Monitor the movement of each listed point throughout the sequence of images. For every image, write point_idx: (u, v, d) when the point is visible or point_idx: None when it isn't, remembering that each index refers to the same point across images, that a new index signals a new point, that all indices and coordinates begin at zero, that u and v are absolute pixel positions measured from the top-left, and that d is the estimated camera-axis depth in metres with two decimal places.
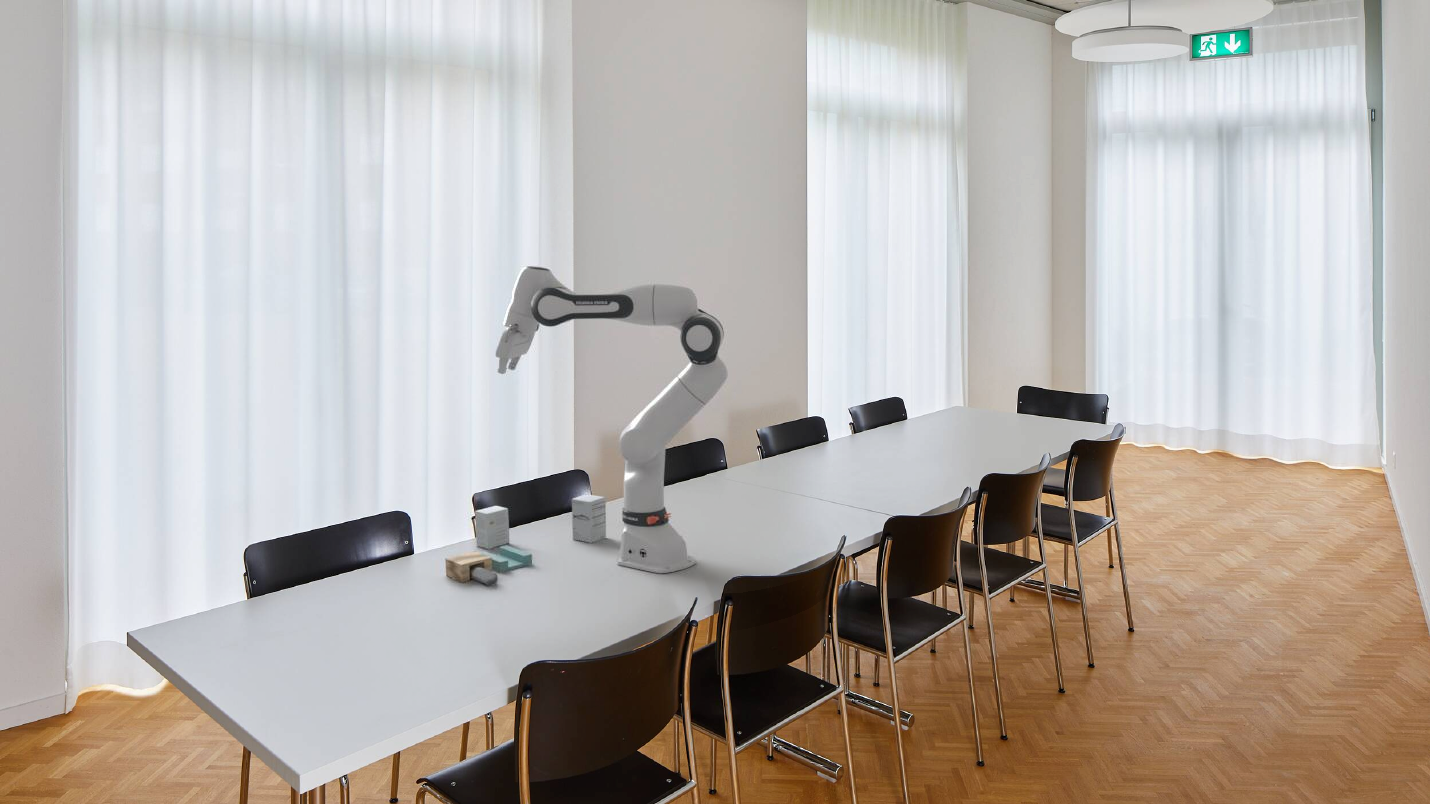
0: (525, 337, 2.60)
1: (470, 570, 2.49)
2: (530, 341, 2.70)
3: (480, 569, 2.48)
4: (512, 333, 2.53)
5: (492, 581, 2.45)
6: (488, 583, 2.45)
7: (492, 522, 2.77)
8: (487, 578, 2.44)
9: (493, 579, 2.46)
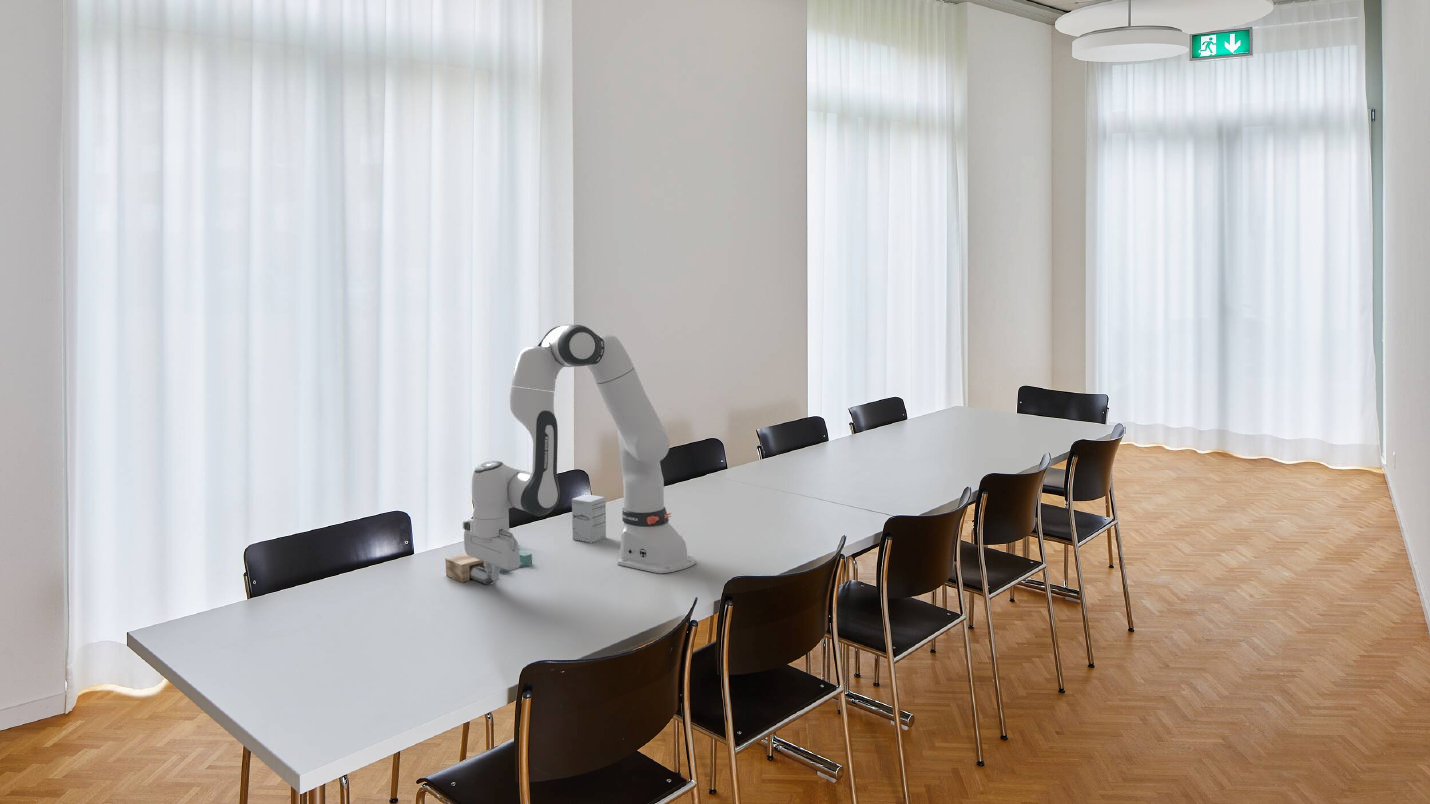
0: None
1: None
2: None
3: (476, 569, 2.48)
4: None
5: (489, 580, 2.46)
6: (486, 582, 2.45)
7: None
8: (484, 578, 2.45)
9: None
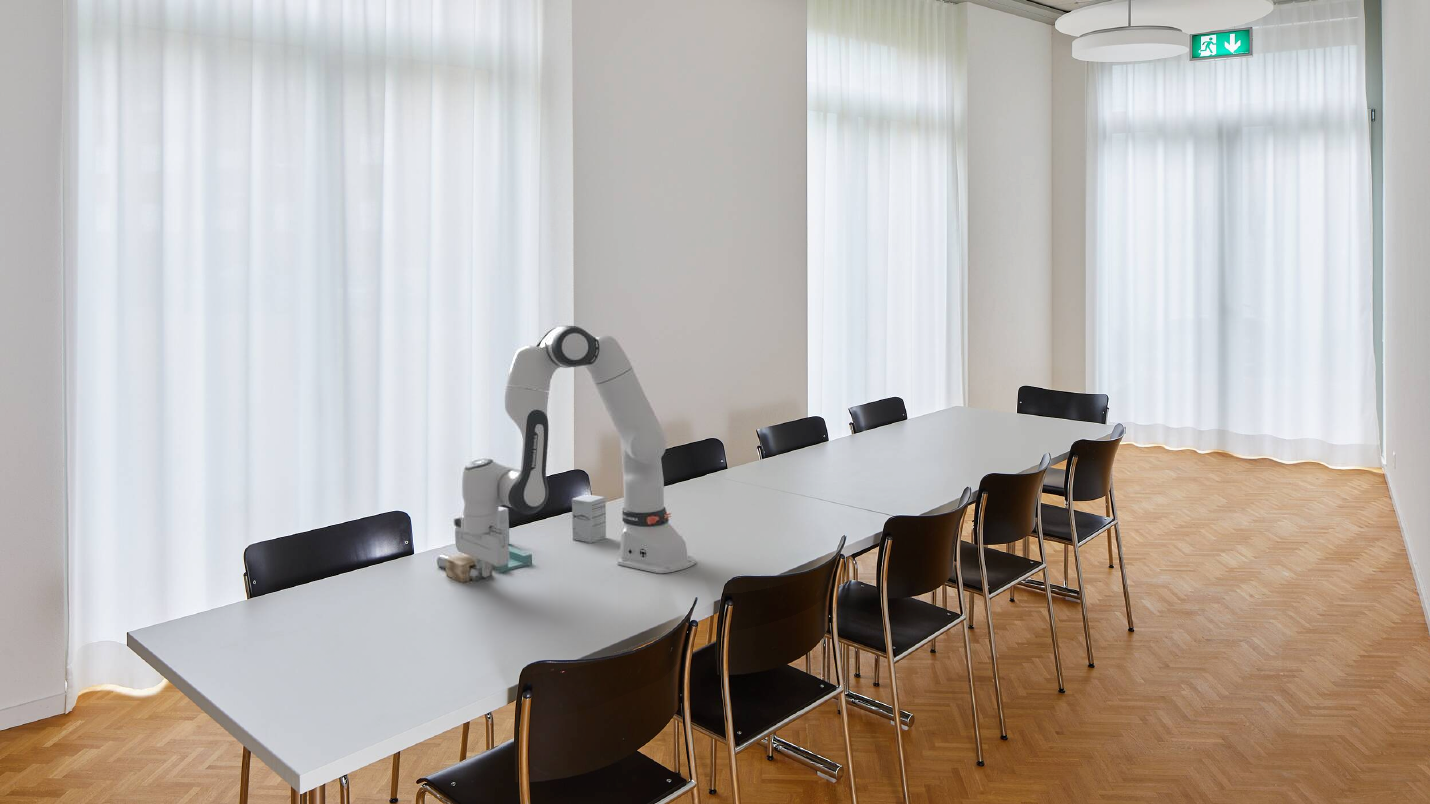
0: None
1: None
2: None
3: None
4: None
5: (480, 577, 2.49)
6: (476, 579, 2.49)
7: None
8: (474, 576, 2.48)
9: None
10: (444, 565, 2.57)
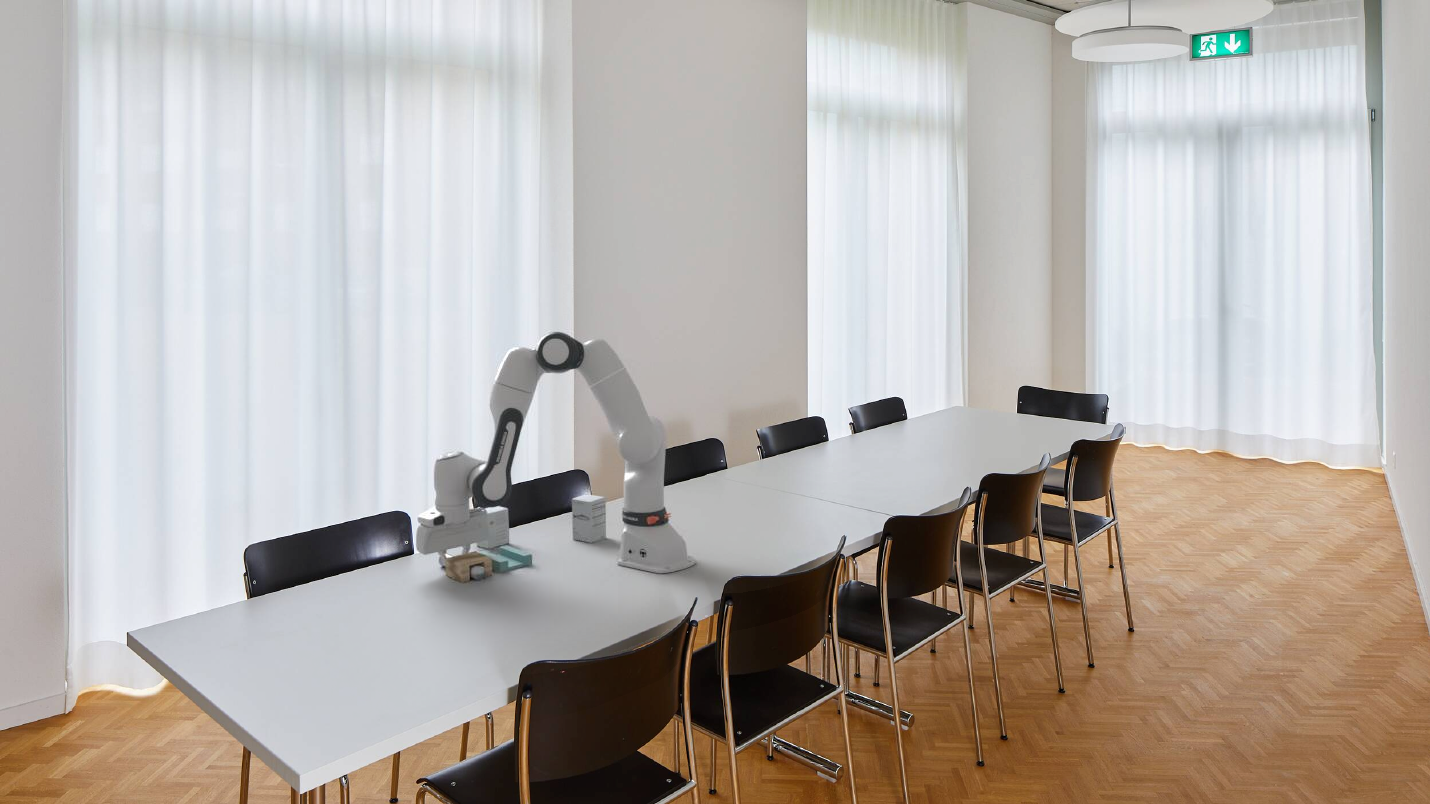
0: None
1: None
2: None
3: None
4: None
5: (481, 576, 2.49)
6: (477, 578, 2.49)
7: (492, 522, 2.77)
8: (476, 573, 2.48)
9: (482, 573, 2.50)
10: None
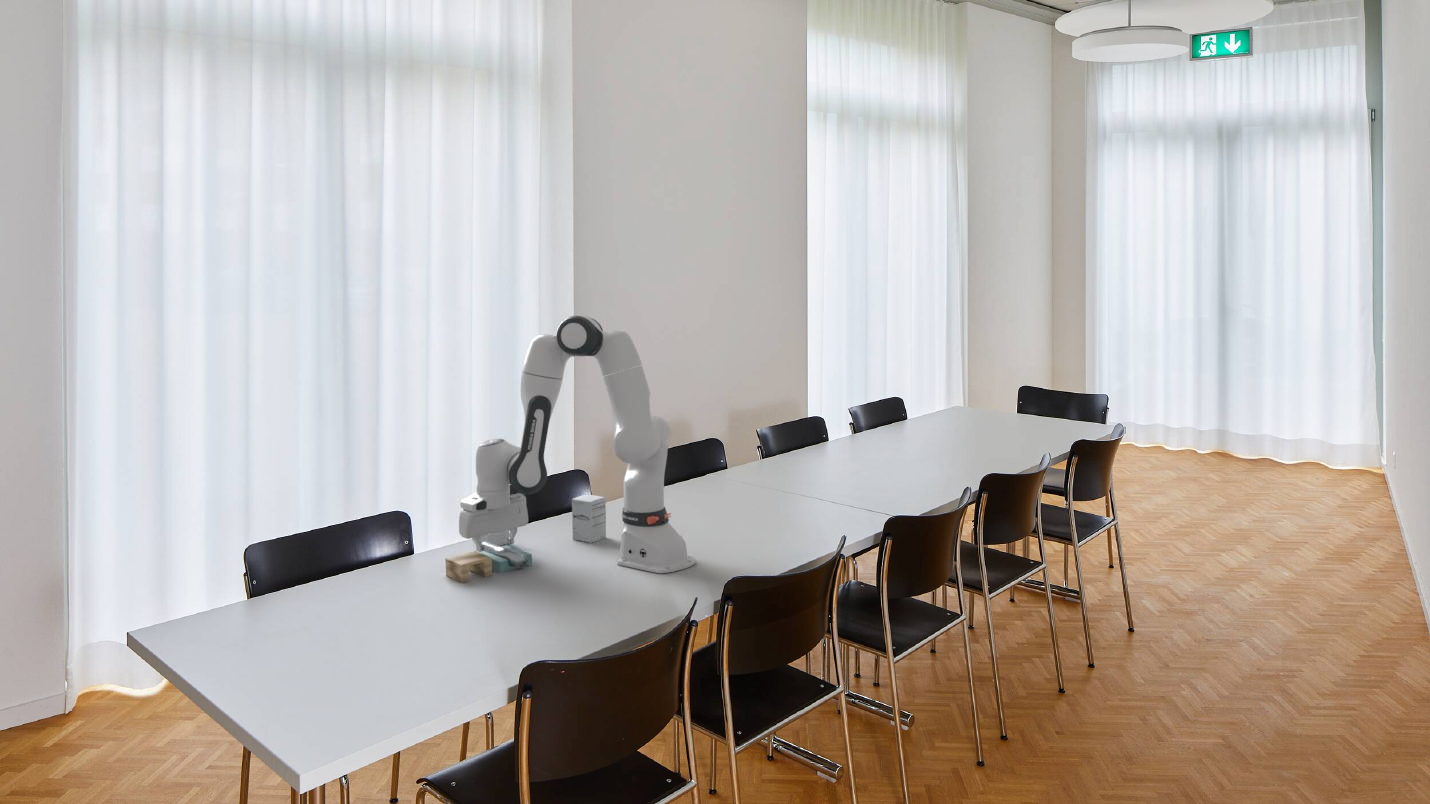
0: None
1: (501, 553, 2.61)
2: None
3: (511, 552, 2.59)
4: None
5: (522, 563, 2.57)
6: (518, 565, 2.56)
7: None
8: (517, 560, 2.56)
9: (523, 561, 2.57)
10: (487, 550, 2.65)
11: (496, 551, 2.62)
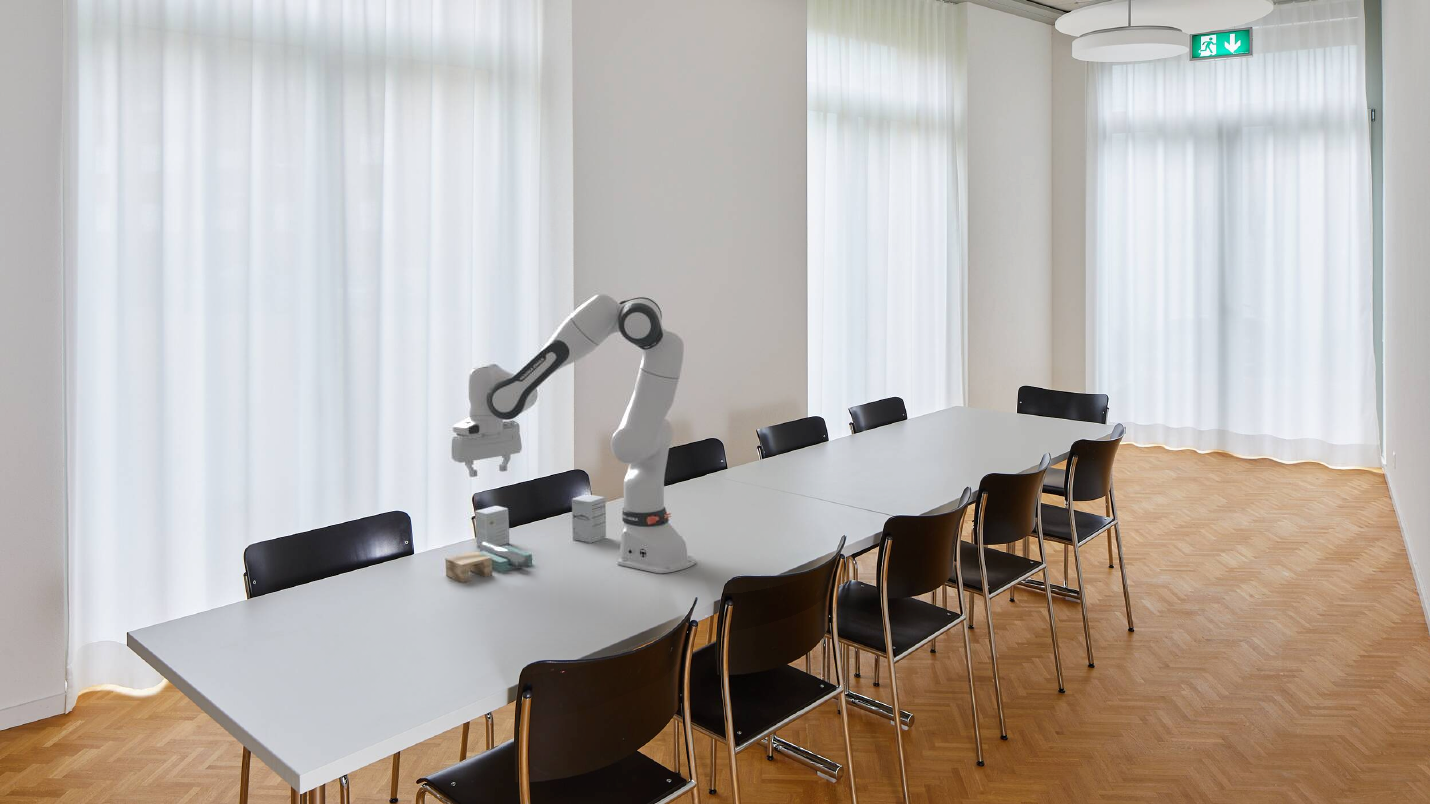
0: None
1: (501, 553, 2.61)
2: None
3: (510, 552, 2.59)
4: None
5: (522, 563, 2.57)
6: (518, 565, 2.56)
7: (492, 522, 2.77)
8: (517, 560, 2.56)
9: (523, 561, 2.57)
10: (487, 550, 2.65)
11: (496, 551, 2.62)
